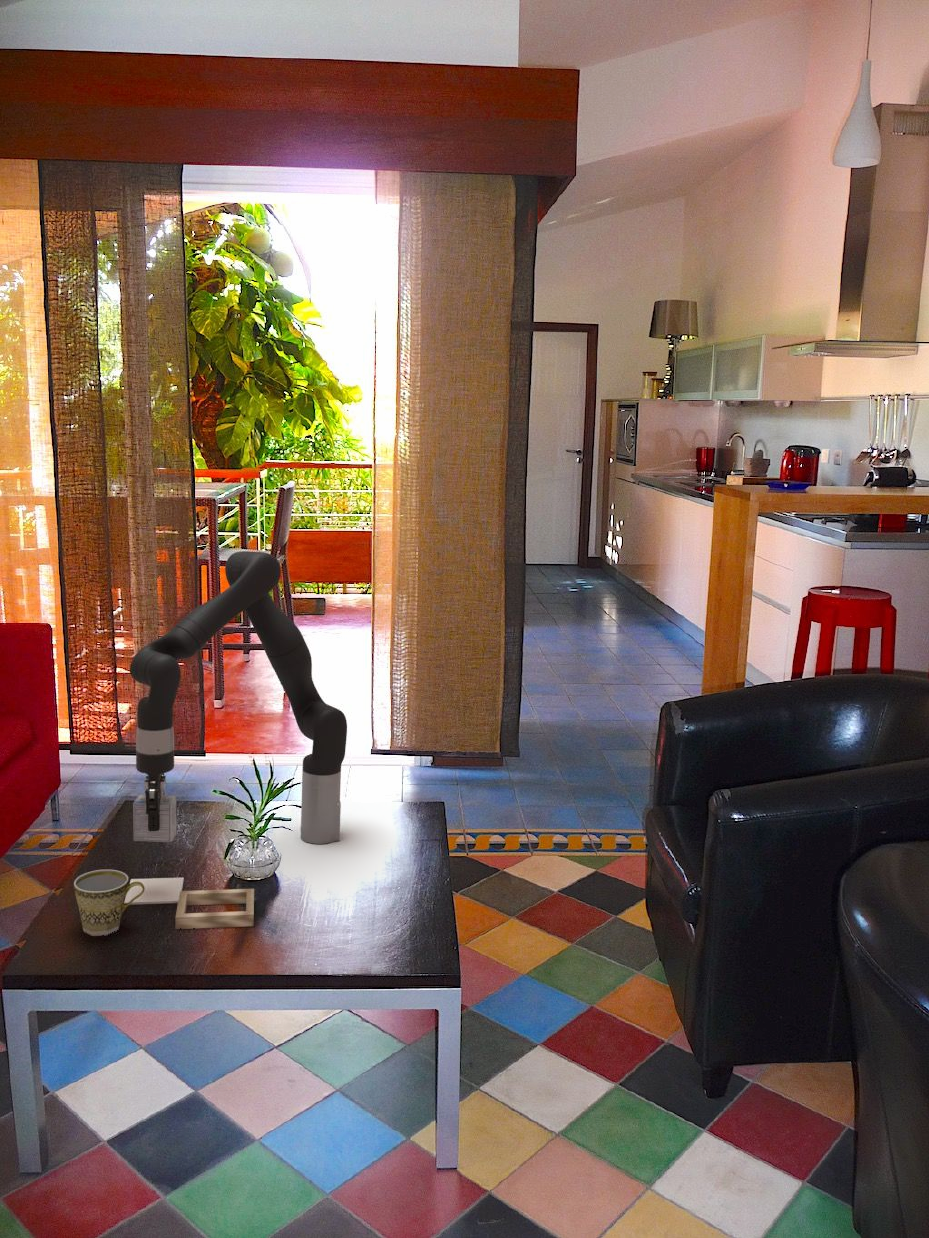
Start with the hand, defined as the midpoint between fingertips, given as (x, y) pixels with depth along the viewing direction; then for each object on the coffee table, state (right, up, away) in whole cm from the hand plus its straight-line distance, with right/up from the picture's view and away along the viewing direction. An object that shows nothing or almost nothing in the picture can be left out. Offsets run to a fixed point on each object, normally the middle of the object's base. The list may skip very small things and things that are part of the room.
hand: (155, 824), depth 211 cm
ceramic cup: (-5, -18, -13) cm, 23 cm away
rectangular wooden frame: (+14, -17, -5) cm, 23 cm away
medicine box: (0, -3, +1) cm, 3 cm away
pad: (-1, -15, +3) cm, 15 cm away
